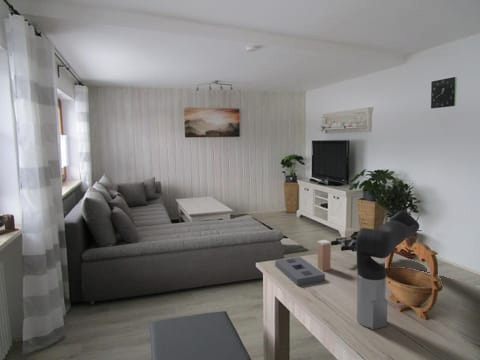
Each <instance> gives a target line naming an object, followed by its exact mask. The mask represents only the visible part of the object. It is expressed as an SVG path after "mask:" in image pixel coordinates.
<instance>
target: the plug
mask: <svg viewBox="0 0 480 360" xmlns="http://www.w3.org/2000/svg"><path fill="white" fill-rule="evenodd" d="M331 247H332V245H331V241H329V240H327V239H321V240H317V269H318V270H320V271H321V272H325V271H331V258H332V257H331V254H332V253H331Z"/></svg>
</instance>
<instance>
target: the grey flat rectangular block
mask: <svg viewBox="0 0 480 360" xmlns="http://www.w3.org/2000/svg"><path fill="white" fill-rule="evenodd" d="M274 260H275V259H274ZM274 263H275V267H276V268H277V269H278V270H279V271H281V273H283V275H285V276H286V277H287V278H288V279H290V281H291V282H293V284H295V285H296V286H297V287H298V286H302V285H307V284H309V285H310V284H313V283H318V282H325V280H326V274H325V273H324V272H323V271H322V270H320V269H319V268H318V267H316V266H314V265H312V264H311V263H310V262H308V260H305V259H304V258H302V257H301V256H296V257H289V258H281V259H276V260H275V262H274Z"/></svg>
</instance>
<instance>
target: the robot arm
mask: <svg viewBox="0 0 480 360" xmlns="http://www.w3.org/2000/svg"><path fill="white" fill-rule="evenodd" d="M419 229H420V224H419V222H418V221H417V220H416V219H415V218H414V217H413V216H412V215H410V213H409V212H408V211H406V210H399V211H397V212H396V213H394V215H393V216H391V218H389V220H388V221H387V222H384V223H383V224H381V226H379V228H378V229H373V228H365V227H362V228H360V229H359V230H358V232H357V234H356V235H353V236H352V237H351V238H347V237H340V238H339V237H337V238H335V240H331V241H330V242H331V247H332V246H340V251H341V252H345V251H349V252H350V251H351V252H356V269H357V276H356V277H357V279H356V282H357V283H356V321H357V323H359V324H360V325H361V326H364V327H366V328H369V329H371V330H377V329H381V328H385V327H387V326H388V299H386V293H387V292H386V289H387V287H386V286H387V269H386V267H385V266H384V265H382V264H381V263H379V262H378V261H376V260H375V259H374V258H377V259H386V258H388V257H389V256H390V255H391V253H393V251H394V249H395V247H396V246H397V245H398V246H399V245H400V244H402V243H403V242H404V241H405V240H406V239H409V238H410V237H412V236H414V235H415V234H416V233H418V231H419ZM405 238H406V239H405ZM398 246H397V247H398ZM397 247H396V248H397Z"/></svg>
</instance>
